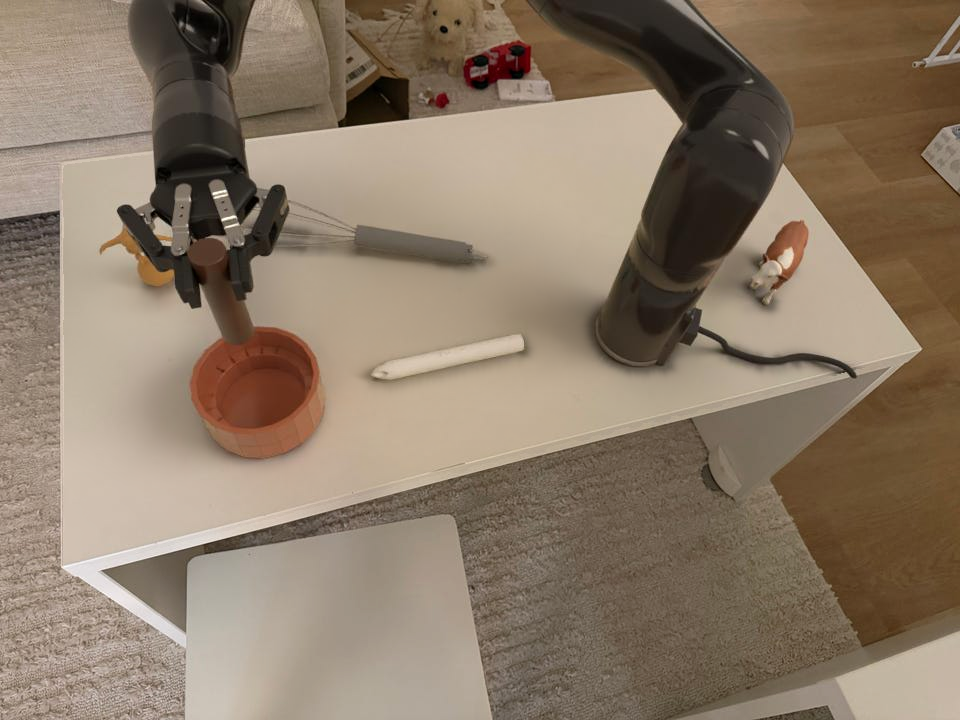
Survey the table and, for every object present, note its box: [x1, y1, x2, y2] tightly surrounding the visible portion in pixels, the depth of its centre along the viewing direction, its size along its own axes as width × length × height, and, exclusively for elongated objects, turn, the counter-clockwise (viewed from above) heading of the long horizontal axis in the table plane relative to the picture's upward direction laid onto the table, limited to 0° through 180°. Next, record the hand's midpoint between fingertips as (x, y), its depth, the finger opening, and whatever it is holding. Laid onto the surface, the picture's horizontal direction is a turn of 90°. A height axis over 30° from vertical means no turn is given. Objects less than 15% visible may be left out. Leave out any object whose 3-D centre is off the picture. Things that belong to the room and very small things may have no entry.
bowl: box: [189, 325, 326, 459], centre depth 69 cm, size 12×12×6 cm
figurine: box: [98, 224, 175, 287], centre depth 74 cm, size 8×6×12 cm
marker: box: [370, 333, 525, 381], centre depth 76 cm, size 18×2×2 cm, turn 107°
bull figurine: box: [748, 219, 809, 306], centre depth 85 cm, size 4×13×8 cm, turn 143°
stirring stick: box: [188, 237, 255, 345], centre depth 55 cm, size 3×3×11 cm
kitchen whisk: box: [241, 199, 489, 264], centre depth 82 cm, size 6×34×6 cm, turn 86°
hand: (217, 297), depth 51 cm, fingers closed on stirring stick, 2 cm apart
